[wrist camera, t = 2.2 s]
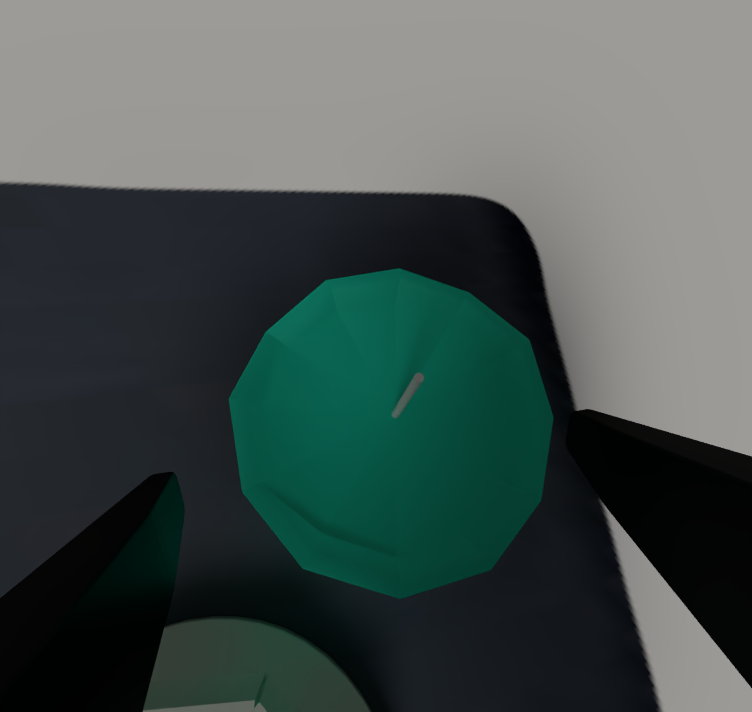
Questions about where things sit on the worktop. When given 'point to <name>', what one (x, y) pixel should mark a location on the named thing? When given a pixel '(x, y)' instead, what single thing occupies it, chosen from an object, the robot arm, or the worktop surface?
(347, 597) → the worktop surface
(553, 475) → the worktop surface
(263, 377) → the candle
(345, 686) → the candle dish
